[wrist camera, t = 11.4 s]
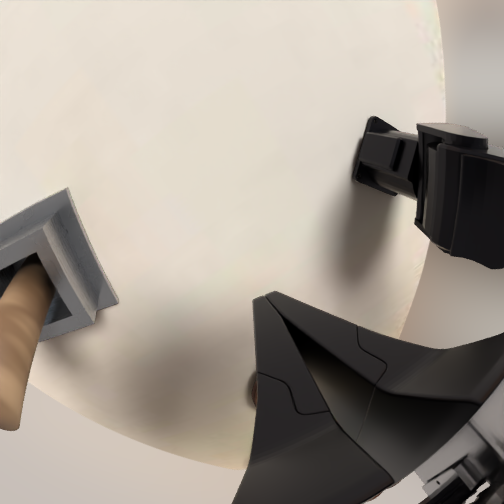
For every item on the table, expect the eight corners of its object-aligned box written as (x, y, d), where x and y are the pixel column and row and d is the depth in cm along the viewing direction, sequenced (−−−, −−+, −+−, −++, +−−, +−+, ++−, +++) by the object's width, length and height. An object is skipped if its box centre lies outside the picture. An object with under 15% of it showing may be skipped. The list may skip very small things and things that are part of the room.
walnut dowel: (65, 264, 18) (19, 410, 7) (54, 297, 18) (19, 437, 8) (29, 244, 16) (-45, 375, 5) (20, 279, 17) (-36, 410, 6)
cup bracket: (67, 187, 16) (50, 202, 13) (118, 299, 21) (116, 331, 18) (-21, 236, 14) (-44, 258, 11) (33, 329, 19) (22, 360, 16)
